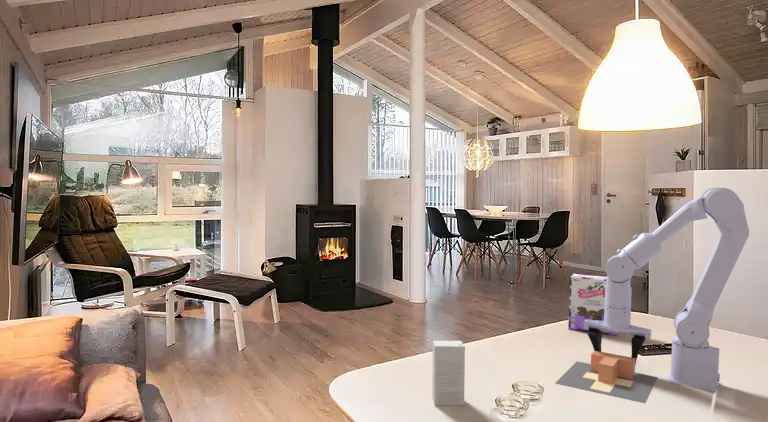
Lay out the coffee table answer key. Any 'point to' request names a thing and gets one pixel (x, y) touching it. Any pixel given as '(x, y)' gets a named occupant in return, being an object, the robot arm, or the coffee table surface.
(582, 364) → the charcoal mat
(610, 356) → the rust T block
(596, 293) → the candy box
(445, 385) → the skincare box
